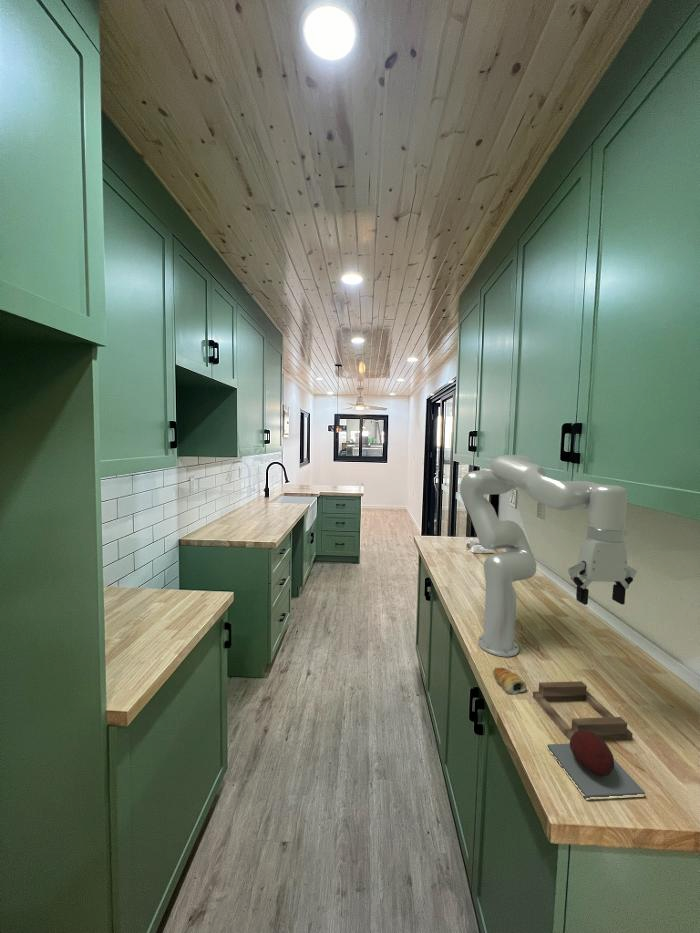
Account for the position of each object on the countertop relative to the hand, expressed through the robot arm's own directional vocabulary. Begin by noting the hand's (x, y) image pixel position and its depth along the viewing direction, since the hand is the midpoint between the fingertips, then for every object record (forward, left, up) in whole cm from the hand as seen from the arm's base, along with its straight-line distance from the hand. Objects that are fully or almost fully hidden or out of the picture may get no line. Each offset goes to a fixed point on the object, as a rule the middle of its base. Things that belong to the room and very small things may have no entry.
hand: (600, 602), depth 93 cm
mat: (+17, -13, -28) cm, 35 cm away
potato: (+17, -13, -28) cm, 35 cm away
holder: (+2, -5, -28) cm, 29 cm away
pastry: (-11, -16, -29) cm, 35 cm away
